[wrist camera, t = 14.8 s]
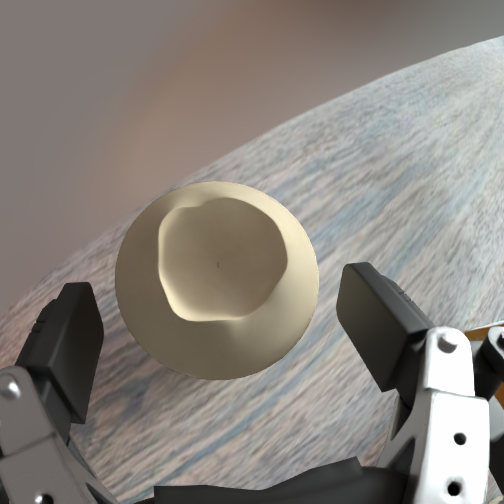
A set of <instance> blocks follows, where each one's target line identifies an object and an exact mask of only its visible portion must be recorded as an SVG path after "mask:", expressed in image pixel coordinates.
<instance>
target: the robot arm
mask: <svg viewBox="0 0 504 504" xmlns="http://www.w3.org/2000/svg"><path fill="white" fill-rule="evenodd" d="M336 311H337V316H338V319H339V322H340V323H341V325H342V327H343V328H344V330H345V331H346V333H347V335H348V336H349V338H350V340H351V341H352V343H353V345H354V346H355V348H356V349H357V351H358V353H359V354H360V356H361V358H362V359H363V361H364V363H365V364H366V366H367V368H368V370H369V371H370V373H371V375H372V376H373V378H374V380H375V381H376V383H377V385H378V386H379V388H380V390H381V392H386V391H389V390H392V389H395V388H396V389H397V391H398V395H397V397H396V399H395V403H394V408H393V412H392V417H391V421H390V426H389V430H388V434H387V438H386V442H385V446H384V448H383V451H382V453H381V455H380V457H379V459H378V461H377V463H376V465H375V467H369V466H362V467H361V466H360V463H359V461H358V459H357V457H356V456H355V457H352V458H349V459H346V460H342V461H339V462H335V463H332V464H328V465H324V466H320V467H316V468H312V469H309V470H307V471H305V472H303V473H301V474H299V475H297V476H295V477H293V478H290V479H288V480H286V481H284V482H281V483H279V484H277V485H274V486H272V487H270V488H267V489H264V490H246V489H235V488H226V487H218V486H210V485H191V486H154V497H153V498H148V499H145V500H142V501H139V502H136V503H134V504H485V503H486V495H487V485H488V471H489V469H490V471H491V473H492V475H493V477H494V479H495V481H496V483H497V485H498V487H499V489H500V491H501V493H502V495H503V499H502V500H501V501H500V502H499V503H498V504H504V410H503V408H502V407H501V405H500V404H499V402H498V401H497V399H496V398H495V396H494V394H495V392H496V391H497V390H498V388H499V387H500V385H501V384H502V383H504V327H501V326H495V327H492V328H491V329H490V330H489V331H488V333H487V335H486V337H485V339H484V341H468V339H467V338H466V337H465V336H464V335H463V334H462V333H461V332H460V331H458V330H456V329H454V328H452V327H448V326H435V325H434V324H433V323H432V322H431V321H430V319H429V318H428V317H427V316H426V315H425V314H424V313H423V312H422V311H421V310H420V308H419V307H418V306H417V305H416V304H415V303H414V302H413V301H411V299H410V298H409V297H408V296H407V294H404V291H403V290H402V289H401V288H400V287H399V286H398V285H397V284H396V283H395V282H393V281H392V280H390V279H388V278H386V277H385V276H383V275H381V274H380V273H379V272H378V271H377V270H376V269H375V268H374V267H373V266H372V265H371V264H370V263H368V262H362V263H351V264H346V265H345V266H344V268H343V272H342V278H341V283H340V288H339V294H338V299H337V304H336ZM31 331H32V332H31V333H30V334H29V336H28V338H27V340H26V342H25V344H24V346H23V348H22V350H21V352H20V354H19V357H18V359H17V361H16V363H15V365H14V366H8V367H5V368H3V369H1V370H0V504H9V500H10V502H11V504H120V503H119V502H118V501H117V500H116V498H115V497H114V496H113V495H112V494H111V493H110V492H109V491H108V490H107V488H106V487H105V486H104V485H103V483H102V482H101V481H100V479H99V478H98V476H97V475H96V473H95V472H94V470H93V469H92V467H91V466H90V464H89V463H88V461H87V460H86V458H85V457H84V455H83V453H82V452H81V450H80V449H79V447H78V445H77V444H76V442H75V440H74V438H73V437H72V435H71V434H70V433H69V431H70V426H71V423H77V424H85V420H86V415H87V409H88V404H89V399H90V394H91V390H92V385H93V381H94V376H95V372H96V368H97V363H98V359H99V355H100V351H101V348H102V344H103V339H104V329H103V323H102V319H101V316H100V313H99V310H98V307H97V303H96V300H95V297H94V293H93V290H92V287H91V285H90V283H89V282H77V283H66V284H65V285H64V287H63V289H62V290H61V292H60V294H59V296H58V298H57V299H53V300H52V301H51V302H50V303H49V304H48V305H46V306H45V307H44V308H43V309H42V311H41V313H40V315H39V316H38V318H37V320H36V323H35V324H34V326H33V328H32V330H31Z"/></svg>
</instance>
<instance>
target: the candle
mask: <svg viewBox="0 0 504 504" xmlns="http://www.w3.org/2000/svg"><path fill="white" fill-rule="evenodd" d="M115 289H116V297H117V301H118V306H119V309H120V312H121V314H122V317H123V320H124V322H125V324H126V325H127V327H128V329H129V331H130V333H131V334H132V336H133V337H134V338H135V340H136V341H137V342H138V344H139V345H140V346H141V347H142V348H143V349H144V350H145V351H146V352H147V353H148V354H149V355H150V356H152V357H153V358H154V359H156V360H157V361H158V362H160V363H161V364H163V365H165V366H166V367H168V368H170V369H172V370H174V371H176V372H179V373H181V374H184V375H187V376H191V377H195V378H199V379H206V380H231V379H236V378H242V377H246V376H249V375H252V374H255V373H258V372H260V371H262V370H264V369H266V368H268V367H270V366H271V365H273V364H274V363H276V362H277V361H279V360H280V359H282V358H283V357H284V356H285V355H286V354H287V353H288V352H289V351H290V350H291V349H292V348H293V347H294V346H295V345H296V344H297V342H298V341H299V340H300V339H301V337H302V336H303V334H304V332H305V331H306V329H307V327H308V325H309V323H310V321H311V319H312V316H313V313H314V310H315V307H316V303H317V297H318V290H319V275H318V266H317V261H316V257H315V253H314V250H313V248H312V245H311V243H310V240H309V238H308V237H307V235H306V233H305V231H304V229H303V228H302V227H301V225H300V224H299V222H298V221H297V220H296V219H295V217H294V216H293V215H292V214H291V213H290V212H289V211H288V210H287V209H286V208H285V207H283V206H282V205H281V204H280V203H279V202H277V201H276V200H274V199H273V198H271V197H270V196H268V195H266V194H264V193H262V192H260V191H258V190H256V189H253V188H251V187H248V186H245V185H241V184H236V183H230V182H222V181H209V182H201V183H195V184H191V185H186V186H183V187H181V188H178V189H175V190H173V191H171V192H169V193H167V194H165V195H163V196H162V197H160V198H159V199H157V200H156V201H154V202H153V203H152V204H151V205H149V206H148V207H147V208H146V209H145V210H144V211H143V212H142V213H141V214H140V215H139V216H138V218H137V219H136V220H135V221H134V223H133V224H132V226H131V227H130V229H129V230H128V232H127V234H126V236H125V238H124V240H123V242H122V245H121V248H120V251H119V254H118V258H117V263H116V269H115Z"/></svg>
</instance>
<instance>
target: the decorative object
mask: <svg viewBox="0 0 504 504" xmlns="http://www.w3.org/2000/svg"><path fill="white" fill-rule="evenodd" d="M502 499H503V495H502V496H499V497H497V498H495V499H494V500H492V501H491V502H489V503H488V504H498V503H499V502H500V501H501V500H502Z"/></svg>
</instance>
